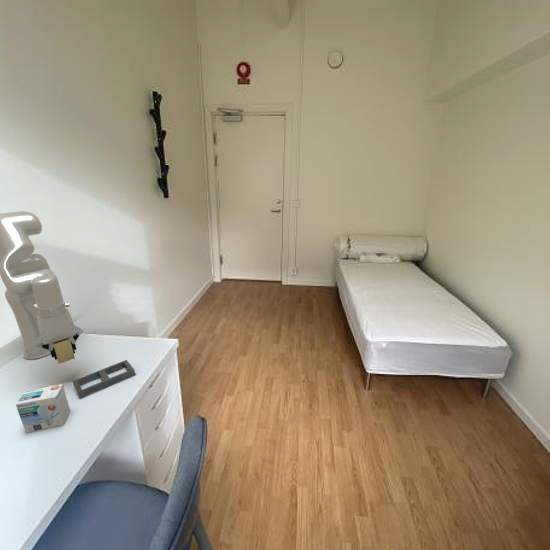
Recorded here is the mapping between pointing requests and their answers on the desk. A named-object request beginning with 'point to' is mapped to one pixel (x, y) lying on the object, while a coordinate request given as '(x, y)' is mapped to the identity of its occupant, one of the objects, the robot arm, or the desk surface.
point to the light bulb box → (43, 408)
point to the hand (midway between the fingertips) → (64, 354)
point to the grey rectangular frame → (103, 378)
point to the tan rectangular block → (63, 350)
